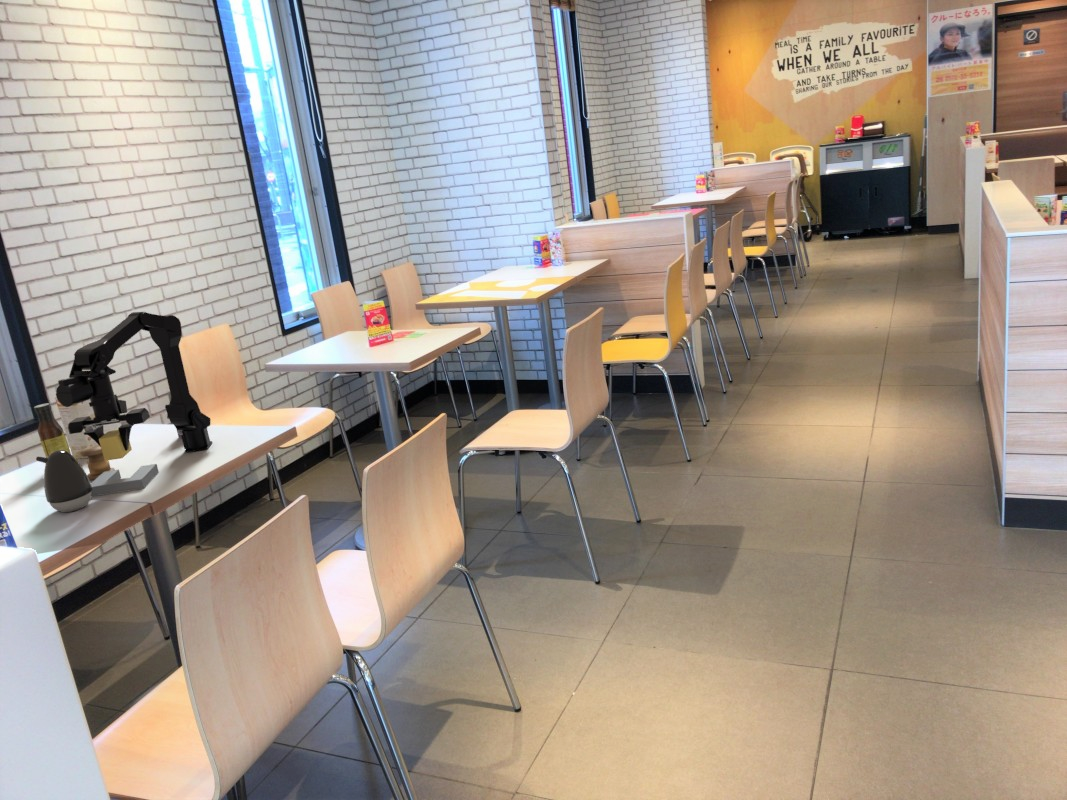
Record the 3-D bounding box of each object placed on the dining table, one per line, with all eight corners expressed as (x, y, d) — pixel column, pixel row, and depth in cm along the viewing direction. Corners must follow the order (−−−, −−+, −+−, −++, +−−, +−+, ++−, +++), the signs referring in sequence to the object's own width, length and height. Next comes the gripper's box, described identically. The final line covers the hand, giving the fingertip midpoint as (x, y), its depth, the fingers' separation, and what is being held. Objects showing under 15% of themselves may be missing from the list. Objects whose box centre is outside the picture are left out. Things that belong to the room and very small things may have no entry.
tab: (122, 458, 218) (116, 436, 217) (104, 460, 218) (98, 439, 216) (131, 449, 225) (125, 428, 223) (114, 452, 225) (108, 430, 223)
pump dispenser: (61, 503, 214) (44, 447, 210) (103, 497, 215) (86, 441, 211) (42, 519, 205) (24, 460, 200) (85, 513, 205) (68, 454, 201)
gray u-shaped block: (158, 472, 229) (156, 463, 228) (144, 488, 217) (141, 479, 217) (106, 480, 228) (103, 471, 227) (88, 496, 216) (86, 487, 216)
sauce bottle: (80, 466, 244) (61, 401, 238) (62, 474, 238) (42, 408, 233) (63, 466, 246) (44, 401, 240) (45, 474, 240) (25, 408, 235)
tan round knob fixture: (119, 469, 236) (111, 442, 234) (110, 478, 229) (102, 450, 227) (93, 473, 236) (86, 446, 233) (83, 482, 229) (75, 454, 227)
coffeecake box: (108, 441, 266) (91, 382, 261) (126, 441, 264) (110, 381, 259) (71, 459, 253) (53, 397, 247) (90, 458, 251) (72, 395, 245)
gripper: (148, 381, 225) (163, 436, 230) (77, 392, 224) (93, 447, 228) (134, 392, 215) (149, 449, 219) (59, 403, 213) (76, 461, 218)
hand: (117, 451), depth 221 cm, fingers closed on tab, 4 cm apart
